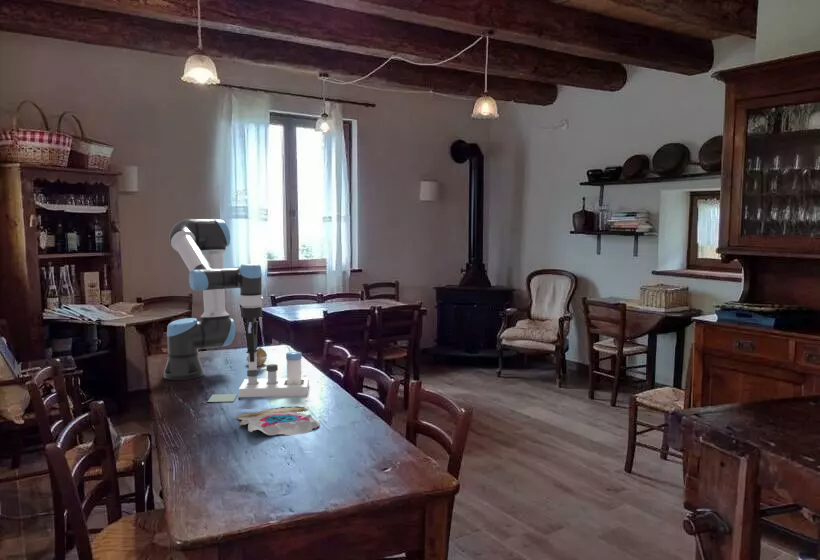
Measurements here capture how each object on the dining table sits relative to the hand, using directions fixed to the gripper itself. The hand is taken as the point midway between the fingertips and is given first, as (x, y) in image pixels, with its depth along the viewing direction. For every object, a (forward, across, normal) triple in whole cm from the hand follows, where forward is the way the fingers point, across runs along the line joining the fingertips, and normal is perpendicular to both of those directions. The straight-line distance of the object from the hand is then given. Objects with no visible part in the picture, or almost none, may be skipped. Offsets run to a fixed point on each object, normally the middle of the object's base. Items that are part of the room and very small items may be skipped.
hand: (252, 369), depth 221 cm
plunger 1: (+7, 0, 0) cm, 7 cm away
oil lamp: (+9, +48, +5) cm, 49 cm away
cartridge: (+8, 0, -15) cm, 17 cm away
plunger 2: (+5, 0, -7) cm, 9 cm away
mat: (+9, -5, +10) cm, 14 cm away
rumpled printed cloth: (+10, -32, -12) cm, 36 cm away
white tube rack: (+9, 0, -8) cm, 12 cm away
